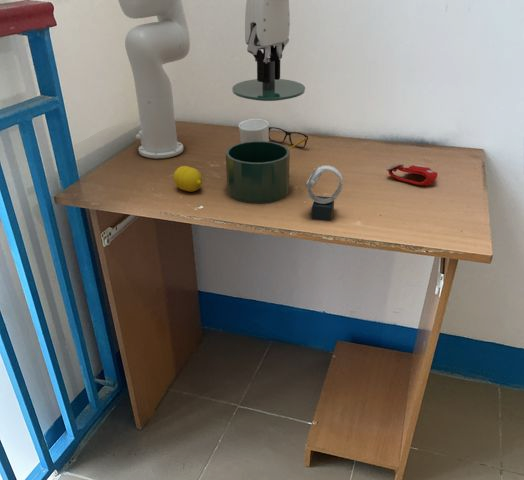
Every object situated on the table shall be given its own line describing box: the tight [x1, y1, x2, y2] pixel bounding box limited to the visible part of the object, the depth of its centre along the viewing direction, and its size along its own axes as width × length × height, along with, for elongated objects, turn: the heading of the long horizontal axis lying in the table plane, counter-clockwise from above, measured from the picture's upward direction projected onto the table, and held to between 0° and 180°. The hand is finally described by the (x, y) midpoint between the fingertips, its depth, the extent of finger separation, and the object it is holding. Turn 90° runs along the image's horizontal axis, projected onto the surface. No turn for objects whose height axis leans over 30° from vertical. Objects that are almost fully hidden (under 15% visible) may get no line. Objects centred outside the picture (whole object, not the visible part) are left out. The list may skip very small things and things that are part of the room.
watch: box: [305, 164, 344, 222], centre depth 124 cm, size 6×8×11 cm
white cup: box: [238, 118, 270, 143], centre depth 149 cm, size 8×8×10 cm
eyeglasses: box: [269, 126, 309, 150], centre depth 158 cm, size 14×14×4 cm
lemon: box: [173, 165, 203, 193], centre depth 137 cm, size 9×6×6 cm, turn 52°
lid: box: [231, 59, 306, 102], centre depth 123 cm, size 16×16×7 cm
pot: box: [225, 141, 291, 204], centre depth 135 cm, size 15×15×10 cm
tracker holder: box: [385, 163, 438, 187], centre depth 141 cm, size 12×4×10 cm
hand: (268, 79), depth 124 cm, fingers closed on lid, 2 cm apart
